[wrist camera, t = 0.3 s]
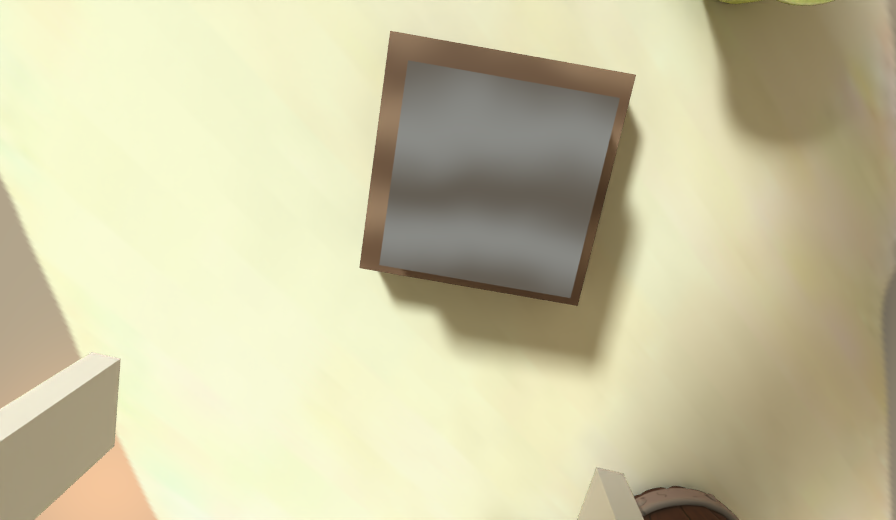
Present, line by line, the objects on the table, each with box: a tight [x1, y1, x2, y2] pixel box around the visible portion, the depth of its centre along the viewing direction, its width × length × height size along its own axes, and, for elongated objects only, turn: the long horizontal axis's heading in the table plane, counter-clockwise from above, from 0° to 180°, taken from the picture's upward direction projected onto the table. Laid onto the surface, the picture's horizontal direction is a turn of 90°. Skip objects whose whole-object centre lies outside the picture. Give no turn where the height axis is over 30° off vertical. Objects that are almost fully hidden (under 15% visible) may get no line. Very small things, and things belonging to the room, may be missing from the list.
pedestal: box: [360, 31, 636, 306], centre depth 34 cm, size 16×16×9 cm
